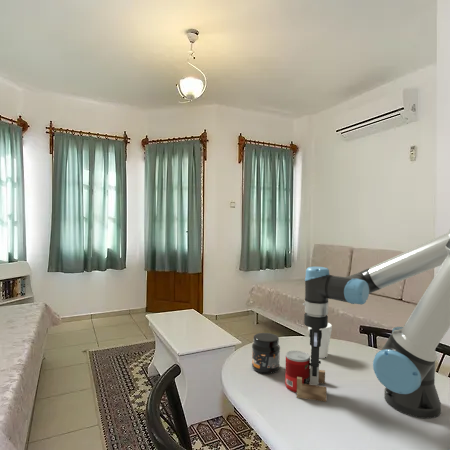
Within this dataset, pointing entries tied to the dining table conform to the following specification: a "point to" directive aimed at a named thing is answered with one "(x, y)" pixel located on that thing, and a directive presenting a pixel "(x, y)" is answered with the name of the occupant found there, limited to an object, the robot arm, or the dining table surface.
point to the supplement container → (266, 353)
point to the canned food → (296, 369)
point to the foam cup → (324, 340)
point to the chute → (312, 389)
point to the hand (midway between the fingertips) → (314, 383)
